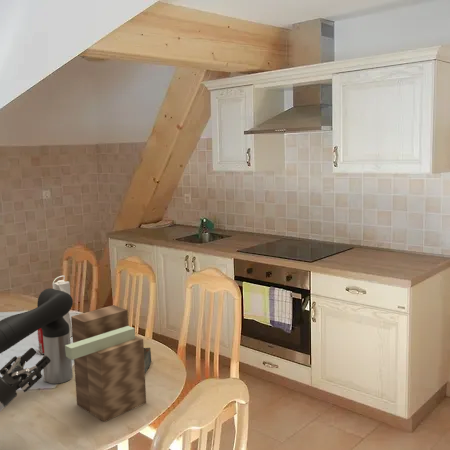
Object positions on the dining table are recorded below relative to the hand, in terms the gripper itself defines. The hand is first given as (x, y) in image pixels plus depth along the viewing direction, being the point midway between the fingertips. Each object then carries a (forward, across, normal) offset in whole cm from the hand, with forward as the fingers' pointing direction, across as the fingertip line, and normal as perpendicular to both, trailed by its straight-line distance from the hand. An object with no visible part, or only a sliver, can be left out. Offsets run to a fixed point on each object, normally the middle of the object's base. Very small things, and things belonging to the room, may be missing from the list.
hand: (41, 353), depth 148 cm
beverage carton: (+25, +18, +45) cm, 54 cm away
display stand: (+8, +4, +35) cm, 36 cm away
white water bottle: (+24, +70, +45) cm, 86 cm away
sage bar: (+15, 0, +13) cm, 20 cm away
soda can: (+14, +61, +38) cm, 73 cm away
